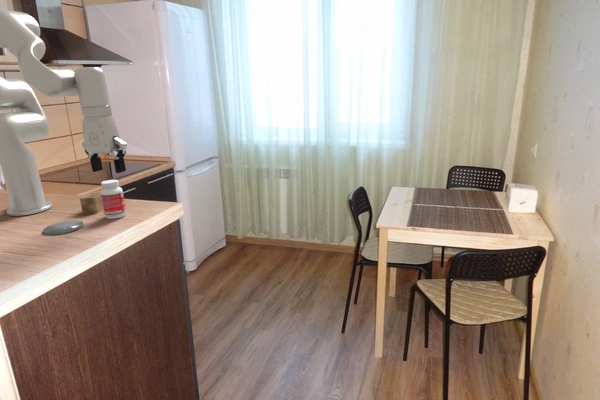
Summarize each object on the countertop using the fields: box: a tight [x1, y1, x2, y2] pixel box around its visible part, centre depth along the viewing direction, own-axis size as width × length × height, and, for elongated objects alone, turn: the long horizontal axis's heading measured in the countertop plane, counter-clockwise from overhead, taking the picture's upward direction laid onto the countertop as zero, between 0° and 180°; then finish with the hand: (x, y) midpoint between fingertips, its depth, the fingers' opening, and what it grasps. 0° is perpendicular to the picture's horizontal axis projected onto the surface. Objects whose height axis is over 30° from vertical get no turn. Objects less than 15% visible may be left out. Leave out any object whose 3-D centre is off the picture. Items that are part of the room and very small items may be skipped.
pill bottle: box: [99, 179, 127, 220], centre depth 122 cm, size 6×6×11 cm
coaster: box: [42, 219, 85, 236], centre depth 115 cm, size 10×10×1 cm
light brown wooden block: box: [79, 193, 104, 214], centre depth 130 cm, size 5×5×5 cm
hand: (109, 171), depth 120 cm, fingers open, 9 cm apart
